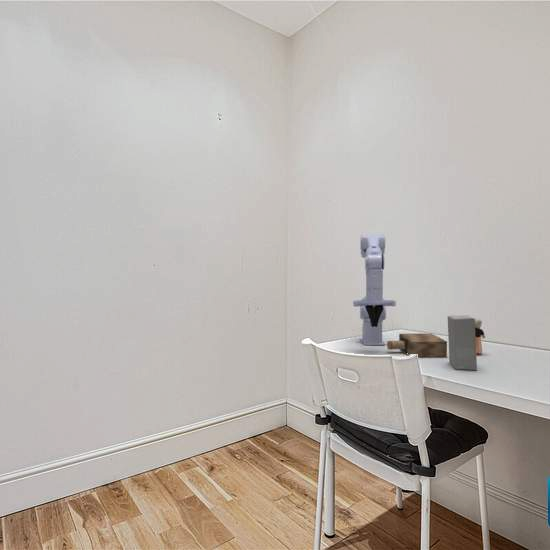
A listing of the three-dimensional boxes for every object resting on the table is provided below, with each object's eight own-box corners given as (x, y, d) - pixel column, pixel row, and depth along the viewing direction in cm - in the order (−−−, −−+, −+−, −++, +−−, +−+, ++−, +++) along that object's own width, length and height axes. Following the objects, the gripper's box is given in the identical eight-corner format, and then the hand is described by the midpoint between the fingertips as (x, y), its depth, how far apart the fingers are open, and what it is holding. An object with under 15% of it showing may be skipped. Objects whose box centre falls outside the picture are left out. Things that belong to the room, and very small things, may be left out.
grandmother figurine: (475, 357, 140) (475, 319, 139) (464, 354, 143) (465, 318, 142) (488, 353, 144) (489, 317, 143) (477, 351, 147) (478, 316, 146)
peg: (389, 350, 145) (389, 341, 145) (386, 348, 148) (386, 339, 148) (423, 350, 145) (423, 341, 144) (420, 348, 148) (420, 339, 148)
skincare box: (477, 370, 123) (478, 318, 123) (452, 369, 125) (453, 318, 124) (469, 363, 132) (470, 314, 131) (446, 362, 133) (446, 313, 132)
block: (409, 357, 139) (409, 341, 139) (397, 347, 153) (397, 333, 153) (446, 357, 139) (447, 341, 139) (431, 347, 153) (431, 333, 153)
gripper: (355, 289, 141) (355, 328, 142) (398, 289, 141) (397, 328, 142) (352, 287, 148) (352, 325, 149) (392, 287, 148) (392, 324, 149)
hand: (374, 326), depth 146 cm, fingers closed
